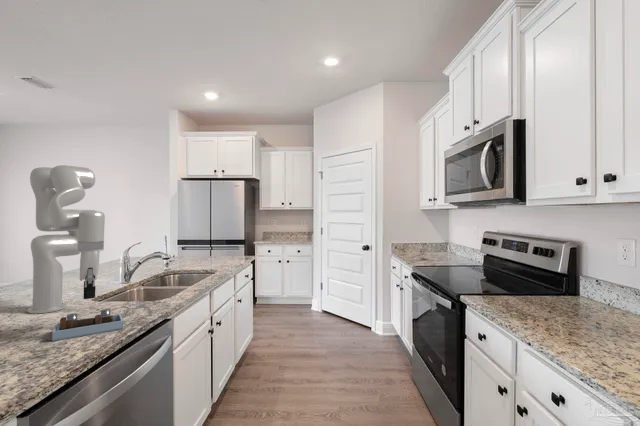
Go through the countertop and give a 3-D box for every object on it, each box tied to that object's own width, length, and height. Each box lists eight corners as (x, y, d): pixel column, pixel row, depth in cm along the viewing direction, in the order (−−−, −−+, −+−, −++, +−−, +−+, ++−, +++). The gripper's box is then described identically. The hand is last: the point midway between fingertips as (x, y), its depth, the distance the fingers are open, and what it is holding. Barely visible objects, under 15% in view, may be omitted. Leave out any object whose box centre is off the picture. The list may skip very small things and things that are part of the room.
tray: (54, 332, 109) (54, 323, 109) (120, 321, 121) (120, 313, 121) (52, 341, 101) (52, 332, 101) (123, 329, 113) (123, 320, 113)
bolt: (112, 331, 114) (58, 338, 105) (112, 320, 118) (60, 327, 109) (114, 318, 112) (59, 325, 103) (113, 308, 116) (60, 314, 107)
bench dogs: (66, 327, 114) (67, 314, 114) (110, 320, 122) (110, 308, 122) (66, 329, 112) (66, 316, 112) (110, 322, 120) (110, 310, 120)
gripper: (77, 243, 116) (76, 290, 116) (76, 249, 102) (75, 302, 102) (102, 243, 120) (101, 288, 121) (105, 248, 107) (103, 299, 107)
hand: (89, 295), depth 111 cm, fingers open, 9 cm apart
